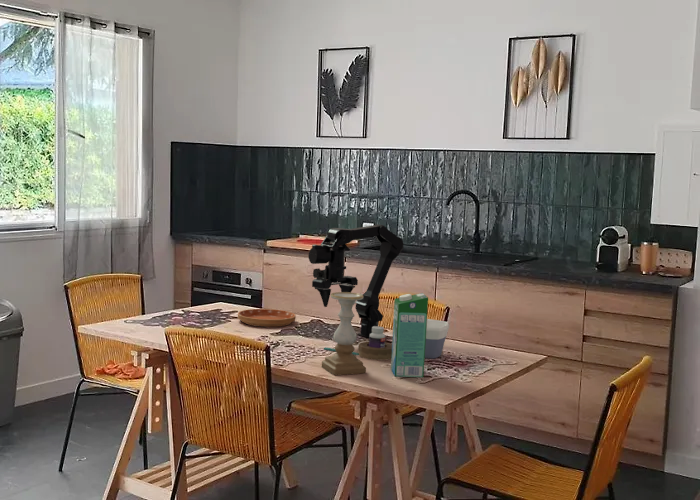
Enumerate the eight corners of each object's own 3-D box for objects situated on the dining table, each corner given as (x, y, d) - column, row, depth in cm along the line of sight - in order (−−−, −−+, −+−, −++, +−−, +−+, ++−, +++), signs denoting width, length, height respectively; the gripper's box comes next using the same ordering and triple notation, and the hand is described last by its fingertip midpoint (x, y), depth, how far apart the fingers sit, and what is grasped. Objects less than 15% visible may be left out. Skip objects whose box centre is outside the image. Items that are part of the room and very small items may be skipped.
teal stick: (361, 355, 274) (361, 353, 274) (360, 355, 273) (360, 353, 273) (325, 349, 280) (325, 347, 280) (324, 349, 279) (324, 347, 279)
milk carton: (390, 369, 257) (394, 291, 254) (418, 369, 258) (423, 292, 255) (394, 376, 248) (399, 296, 245) (423, 377, 249) (428, 297, 246)
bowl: (450, 352, 284) (452, 321, 283) (441, 362, 270) (443, 329, 268) (408, 347, 289) (410, 316, 288) (396, 356, 275) (398, 324, 273)
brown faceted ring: (374, 349, 283) (374, 339, 282) (401, 356, 275) (401, 346, 274) (351, 354, 274) (351, 344, 273) (378, 361, 266) (379, 351, 265)
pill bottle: (382, 358, 271) (384, 329, 270) (367, 356, 272) (368, 328, 271) (385, 354, 276) (387, 326, 275) (369, 353, 277) (371, 325, 276)
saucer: (264, 314, 337) (264, 306, 337) (307, 323, 324) (307, 314, 323) (225, 322, 319) (225, 313, 318) (269, 331, 305) (269, 321, 305)
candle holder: (333, 375, 246) (337, 298, 243) (320, 366, 256) (324, 292, 253) (366, 373, 250) (370, 297, 248) (352, 364, 260) (356, 291, 258)
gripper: (337, 259, 305) (335, 299, 307) (302, 262, 291) (300, 304, 293) (359, 262, 298) (357, 304, 299) (324, 265, 284) (322, 309, 286)
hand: (334, 305), depth 295 cm, fingers open, 9 cm apart
